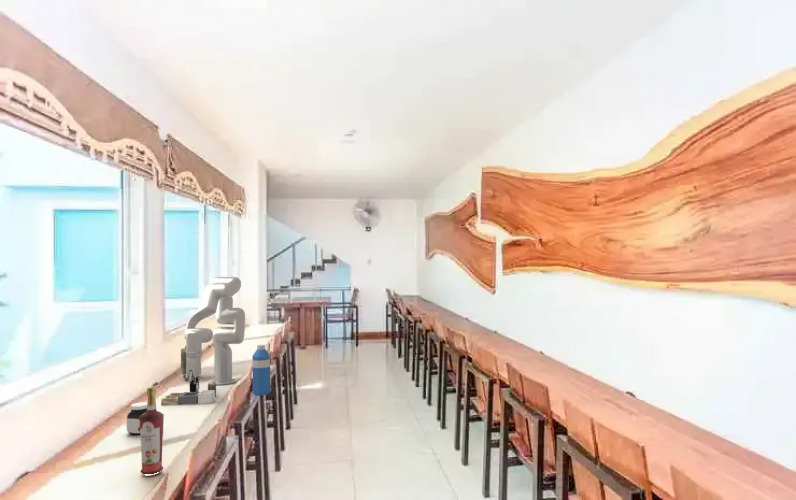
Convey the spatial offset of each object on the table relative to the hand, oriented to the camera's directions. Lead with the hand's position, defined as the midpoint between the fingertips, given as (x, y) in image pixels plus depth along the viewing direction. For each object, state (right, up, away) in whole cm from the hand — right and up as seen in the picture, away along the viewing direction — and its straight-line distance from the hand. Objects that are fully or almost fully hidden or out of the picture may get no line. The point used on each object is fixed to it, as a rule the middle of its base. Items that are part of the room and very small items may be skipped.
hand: (194, 390), depth 289 cm
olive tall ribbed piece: (-18, -4, +44) cm, 48 cm away
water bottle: (+33, -3, +6) cm, 33 cm away
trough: (-7, -3, -10) cm, 12 cm away
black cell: (+9, -3, 0) cm, 10 cm away
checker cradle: (+2, -3, -10) cm, 11 cm away
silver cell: (0, -3, 0) cm, 3 cm away
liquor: (+23, -2, -104) cm, 106 cm away
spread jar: (0, -3, -57) cm, 58 cm away
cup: (+10, -3, -11) cm, 15 cm away
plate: (+2, -1, -10) cm, 11 cm away
